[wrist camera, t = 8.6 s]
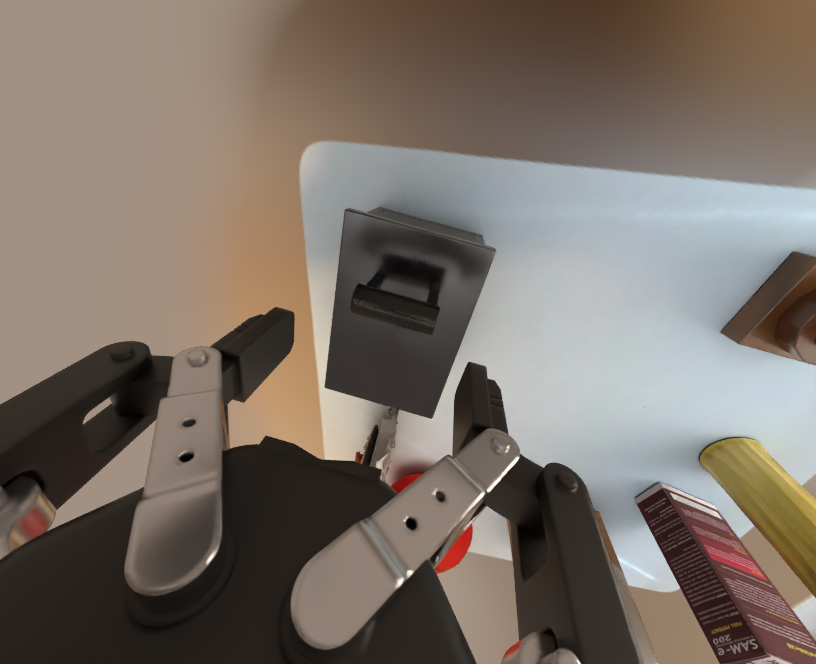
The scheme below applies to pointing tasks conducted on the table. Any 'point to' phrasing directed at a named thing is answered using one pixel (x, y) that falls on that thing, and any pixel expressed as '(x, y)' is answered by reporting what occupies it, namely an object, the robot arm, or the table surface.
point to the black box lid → (401, 310)
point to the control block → (781, 312)
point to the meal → (380, 444)
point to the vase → (768, 500)
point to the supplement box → (724, 583)
